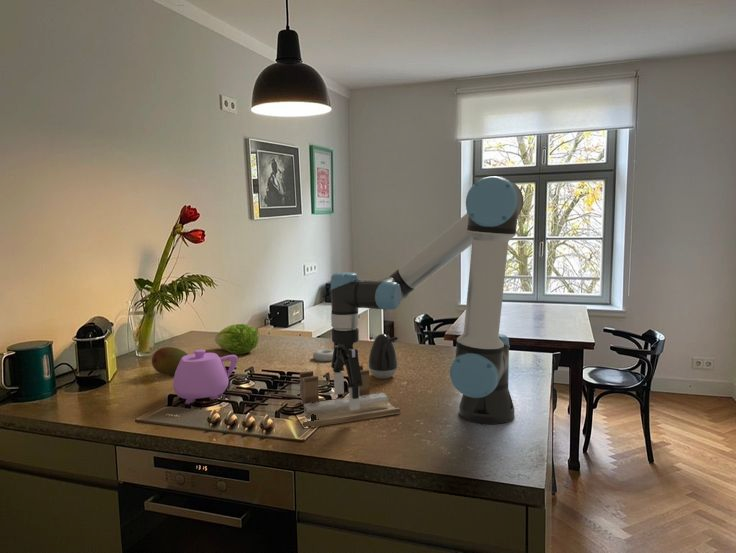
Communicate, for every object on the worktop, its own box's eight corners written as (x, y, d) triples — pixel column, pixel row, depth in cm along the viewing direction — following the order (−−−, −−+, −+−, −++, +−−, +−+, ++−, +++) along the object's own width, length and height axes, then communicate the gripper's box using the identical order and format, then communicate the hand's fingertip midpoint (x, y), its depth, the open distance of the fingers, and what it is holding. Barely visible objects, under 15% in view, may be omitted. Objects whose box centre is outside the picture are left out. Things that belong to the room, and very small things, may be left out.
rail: (387, 408, 152) (387, 396, 152) (307, 420, 144) (306, 408, 143) (383, 404, 155) (383, 392, 155) (303, 415, 147) (303, 403, 146)
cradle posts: (369, 399, 160) (369, 370, 159) (305, 409, 153) (304, 378, 152) (362, 393, 166) (361, 365, 165) (300, 402, 159) (299, 372, 158)
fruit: (148, 374, 190) (146, 347, 189) (181, 366, 199) (180, 341, 198) (162, 380, 182) (160, 352, 181) (196, 372, 191) (194, 346, 190)
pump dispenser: (396, 381, 178) (395, 337, 176) (365, 380, 180) (365, 336, 178) (400, 373, 188) (400, 331, 186) (371, 371, 190) (371, 330, 188)
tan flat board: (400, 413, 149) (400, 408, 149) (303, 428, 139) (303, 423, 139) (383, 399, 160) (383, 395, 160) (293, 413, 150) (293, 408, 150)
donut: (334, 355, 215) (310, 357, 211) (334, 347, 214) (310, 348, 211) (341, 361, 205) (316, 363, 202) (341, 352, 205) (316, 354, 201)
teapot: (234, 381, 180) (232, 338, 179) (242, 400, 162) (240, 352, 160) (173, 389, 173) (170, 344, 171) (174, 409, 155) (171, 359, 153)
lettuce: (232, 331, 235) (209, 319, 225) (267, 330, 222) (244, 318, 213) (223, 358, 230) (199, 347, 220) (258, 359, 217) (234, 348, 207)
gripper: (374, 335, 136) (374, 414, 139) (343, 318, 160) (345, 386, 162) (346, 338, 134) (348, 418, 136) (320, 320, 157) (321, 389, 159)
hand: (346, 401), depth 149 cm, fingers open, 13 cm apart
